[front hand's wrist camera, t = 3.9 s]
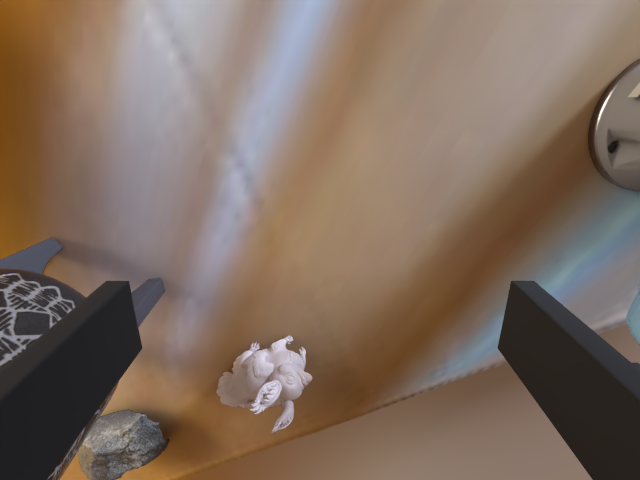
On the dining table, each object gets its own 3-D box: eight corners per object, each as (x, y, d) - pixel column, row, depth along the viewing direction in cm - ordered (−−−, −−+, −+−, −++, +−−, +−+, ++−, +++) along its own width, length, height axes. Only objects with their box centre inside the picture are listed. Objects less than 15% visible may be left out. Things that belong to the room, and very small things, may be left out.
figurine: (326, 352, 52) (328, 426, 40) (245, 402, 55) (224, 484, 43) (291, 312, 50) (282, 378, 38) (208, 366, 53) (176, 442, 41)
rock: (155, 398, 55) (135, 435, 49) (184, 437, 58) (168, 478, 52) (79, 422, 57) (50, 462, 50) (111, 460, 59) (87, 501, 53)
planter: (-10, 275, 48) (-362, 461, 23) (93, 188, 44) (-200, 299, 19) (104, 374, 53) (-82, 609, 29) (205, 305, 49) (89, 508, 25)
